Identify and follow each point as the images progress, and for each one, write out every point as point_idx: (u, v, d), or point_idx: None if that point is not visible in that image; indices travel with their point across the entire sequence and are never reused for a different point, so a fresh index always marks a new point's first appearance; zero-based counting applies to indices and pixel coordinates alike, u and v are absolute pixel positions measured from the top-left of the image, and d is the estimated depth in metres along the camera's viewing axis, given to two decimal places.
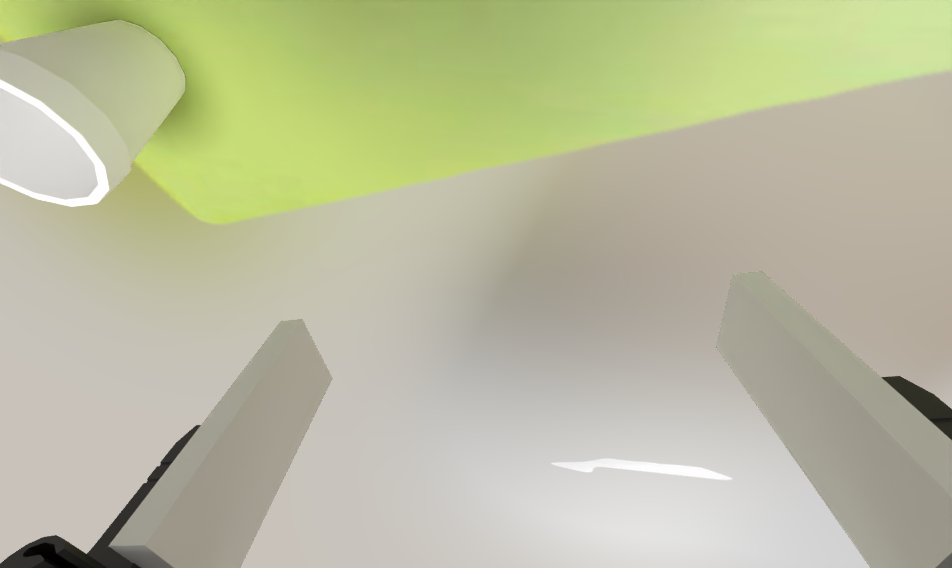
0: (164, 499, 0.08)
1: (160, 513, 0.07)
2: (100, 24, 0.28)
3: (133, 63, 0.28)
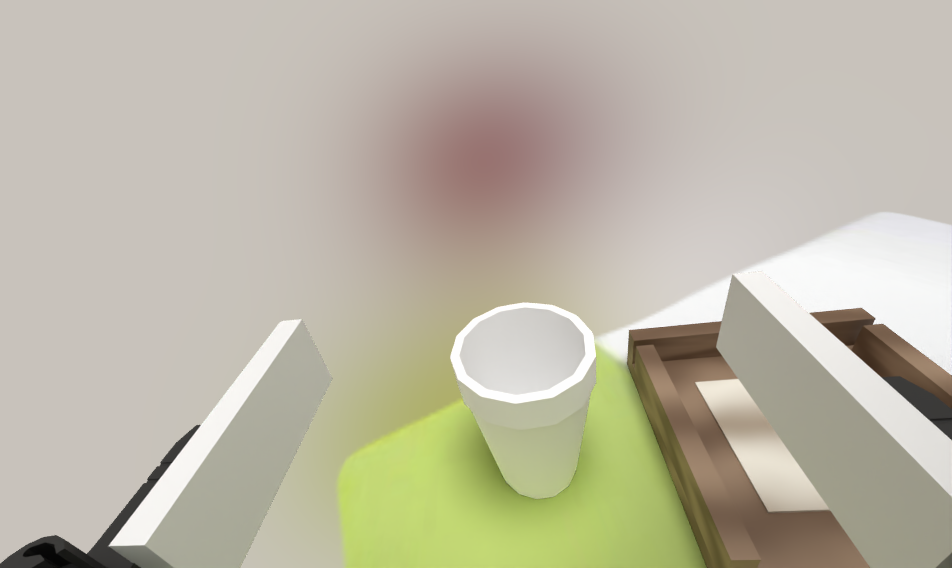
0: (164, 499, 0.08)
1: (160, 513, 0.07)
2: None
3: (568, 458, 0.27)
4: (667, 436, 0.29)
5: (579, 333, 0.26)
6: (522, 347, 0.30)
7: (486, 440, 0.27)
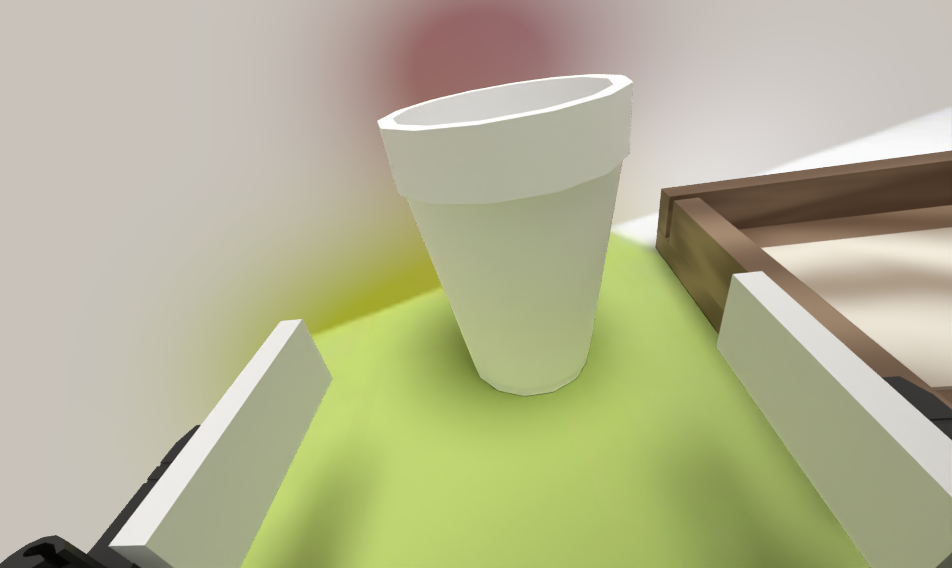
0: (164, 499, 0.08)
1: (160, 513, 0.07)
2: None
3: (577, 312, 0.16)
4: None
5: (599, 85, 0.15)
6: None
7: (443, 285, 0.17)
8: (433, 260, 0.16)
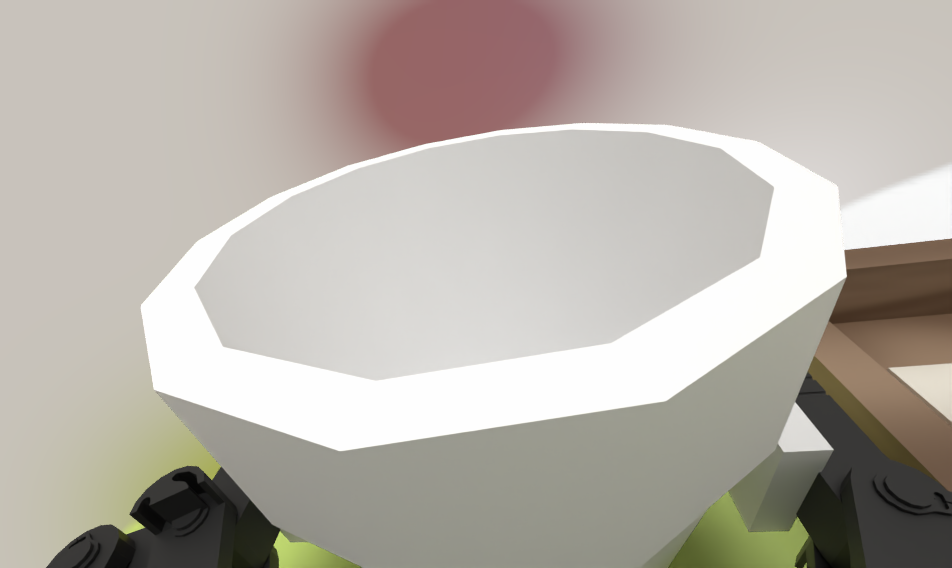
0: None
1: None
2: None
3: None
4: None
5: (693, 159, 0.07)
6: (495, 266, 0.11)
7: None
8: None
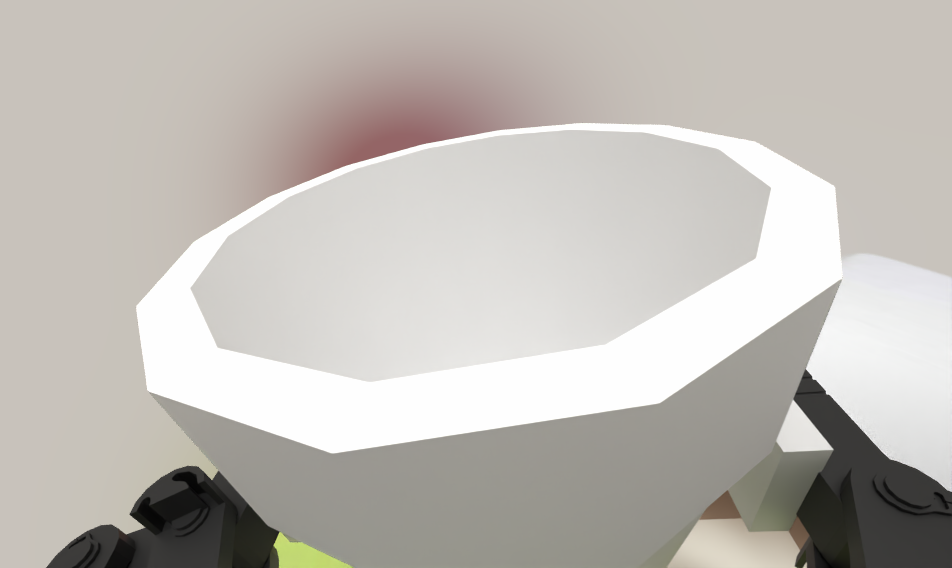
0: None
1: None
2: None
3: None
4: None
5: (691, 159, 0.07)
6: (494, 266, 0.11)
7: None
8: None
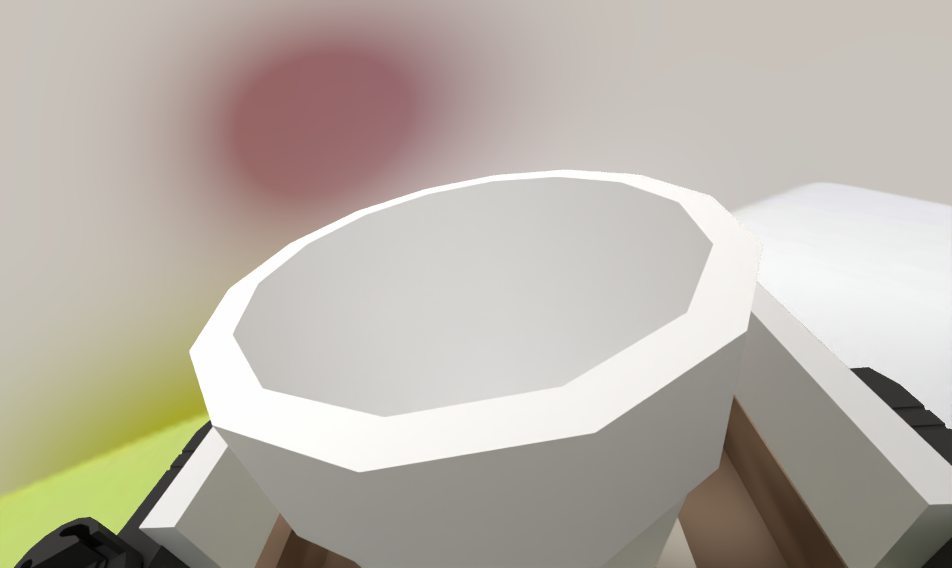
0: (191, 483, 0.08)
1: (188, 497, 0.08)
2: None
3: None
4: None
5: (658, 209, 0.08)
6: (492, 296, 0.12)
7: None
8: None
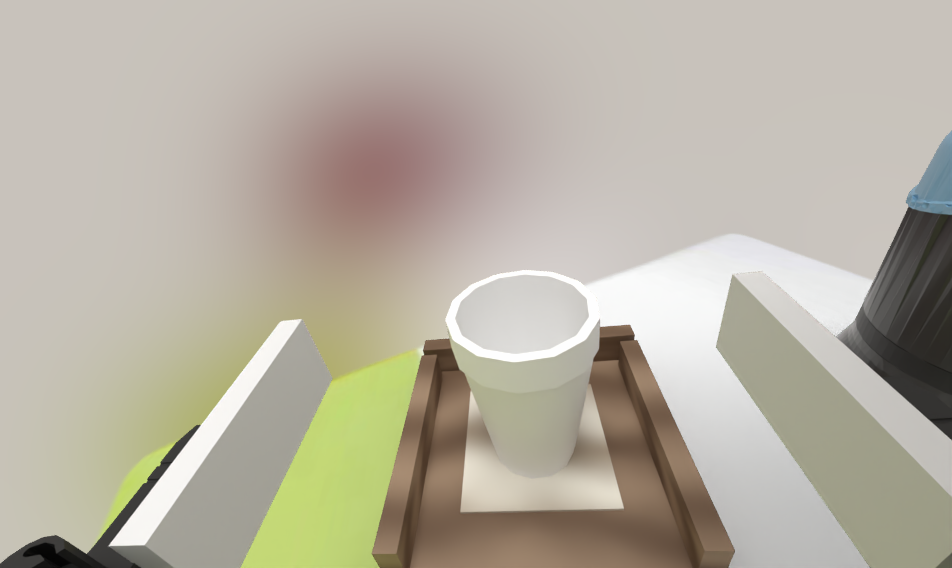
0: (164, 498, 0.08)
1: (160, 512, 0.07)
2: None
3: (567, 433, 0.25)
4: None
5: (582, 298, 0.24)
6: (520, 318, 0.29)
7: (481, 412, 0.26)
8: (476, 400, 0.25)
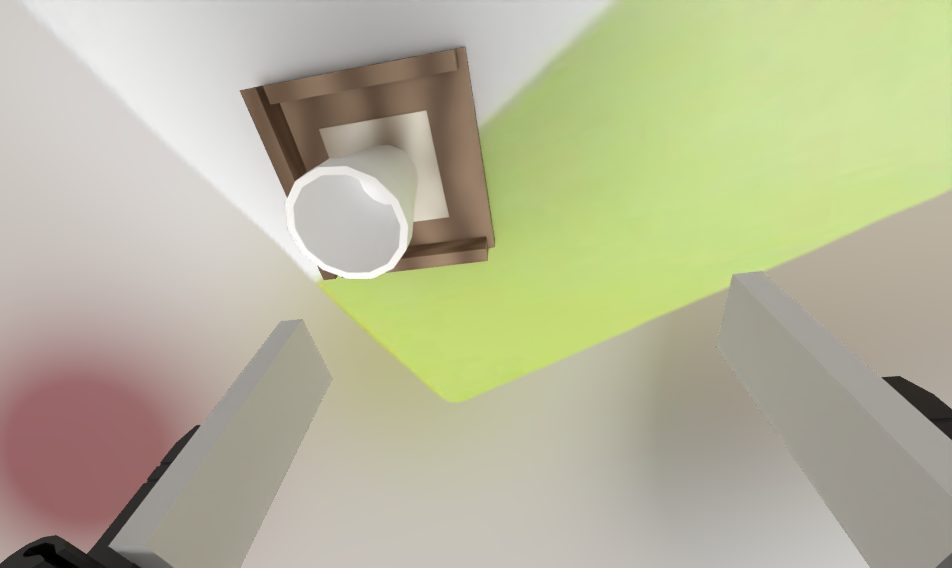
0: (164, 499, 0.08)
1: (160, 513, 0.07)
2: (370, 147, 0.37)
3: (399, 161, 0.35)
4: None
5: (318, 177, 0.28)
6: (320, 216, 0.33)
7: None
8: None
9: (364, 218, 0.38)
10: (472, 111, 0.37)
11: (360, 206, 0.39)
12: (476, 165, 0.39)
